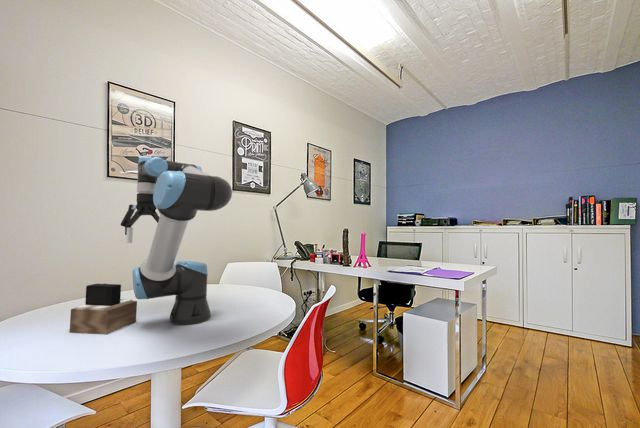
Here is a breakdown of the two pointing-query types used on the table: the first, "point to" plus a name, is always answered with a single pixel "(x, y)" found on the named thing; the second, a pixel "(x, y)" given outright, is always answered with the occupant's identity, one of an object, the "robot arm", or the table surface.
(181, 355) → the table surface
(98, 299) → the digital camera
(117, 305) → the walnut stand
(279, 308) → the table surface
